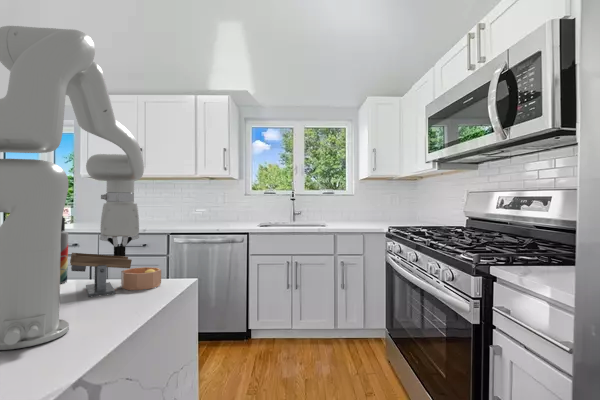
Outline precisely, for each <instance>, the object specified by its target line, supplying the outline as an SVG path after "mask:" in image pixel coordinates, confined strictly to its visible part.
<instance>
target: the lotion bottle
mask: <svg viewBox="0 0 600 400" xmlns="http://www.w3.org/2000/svg"><path fill="white" fill-rule="evenodd" d="M65 229H66V218H65V217H64V215H63V217H62V225H61V257H60V285H62V284H61V283H63V284H66V283H67V282H68V274H69V273H68V272H69V271H68V270H69V269H68V267H69V262H68V261H69V232H68V231H65ZM65 282H66V283H65Z"/></svg>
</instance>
